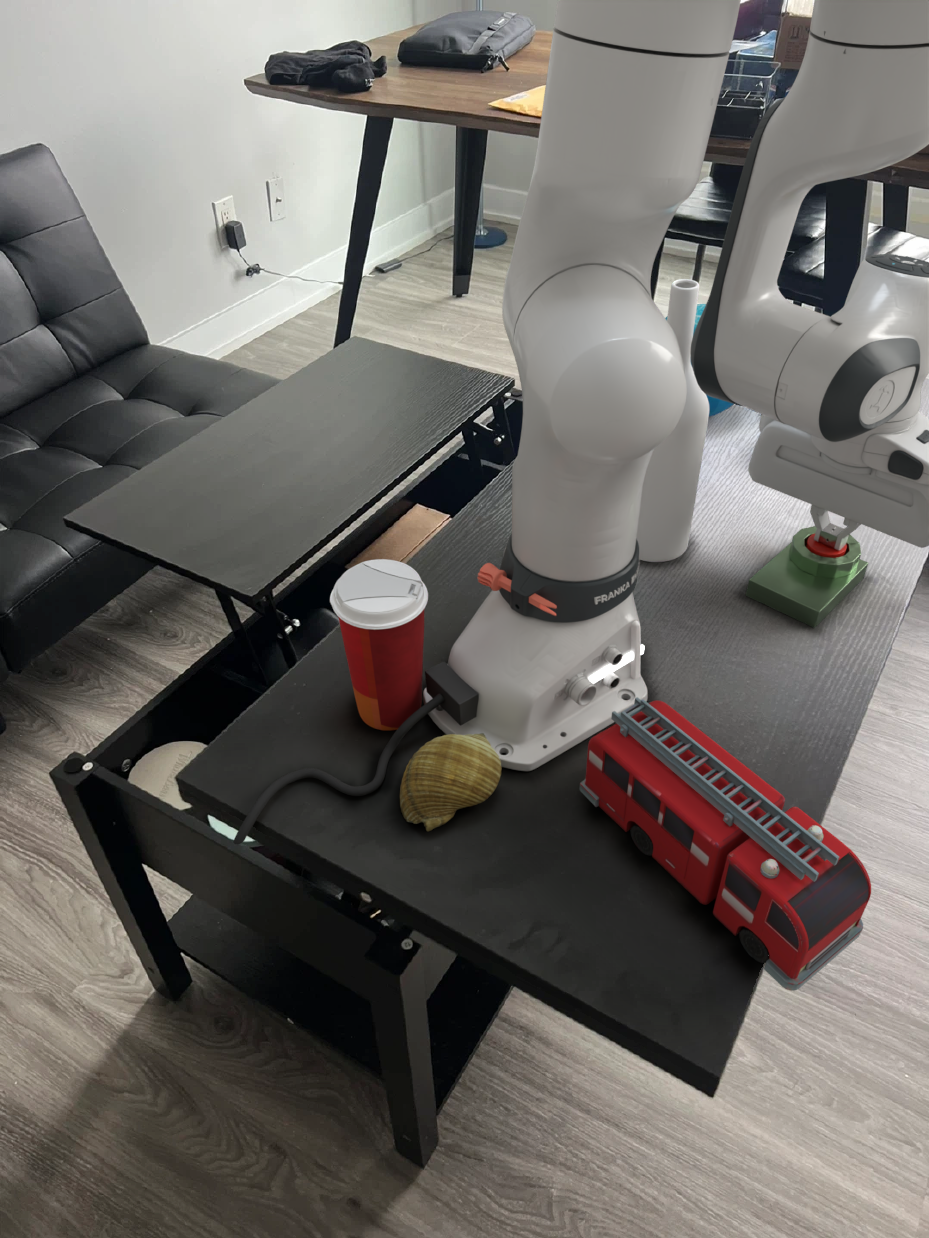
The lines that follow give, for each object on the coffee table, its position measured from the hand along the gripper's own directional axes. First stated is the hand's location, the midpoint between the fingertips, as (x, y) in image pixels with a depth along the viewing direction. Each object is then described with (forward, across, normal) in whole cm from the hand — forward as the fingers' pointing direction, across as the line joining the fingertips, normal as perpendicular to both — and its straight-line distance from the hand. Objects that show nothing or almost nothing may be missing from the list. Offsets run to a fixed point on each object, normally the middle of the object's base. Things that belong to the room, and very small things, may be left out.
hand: (829, 543), depth 97 cm
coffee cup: (+4, -20, -46) cm, 50 cm away
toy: (+4, +11, -40) cm, 42 cm away
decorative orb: (+4, -31, +22) cm, 38 cm away
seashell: (+4, -9, -49) cm, 50 cm away
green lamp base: (+4, 0, -3) cm, 5 cm away
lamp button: (+2, 0, 0) cm, 2 cm away
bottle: (+4, -17, -7) cm, 19 cm away
